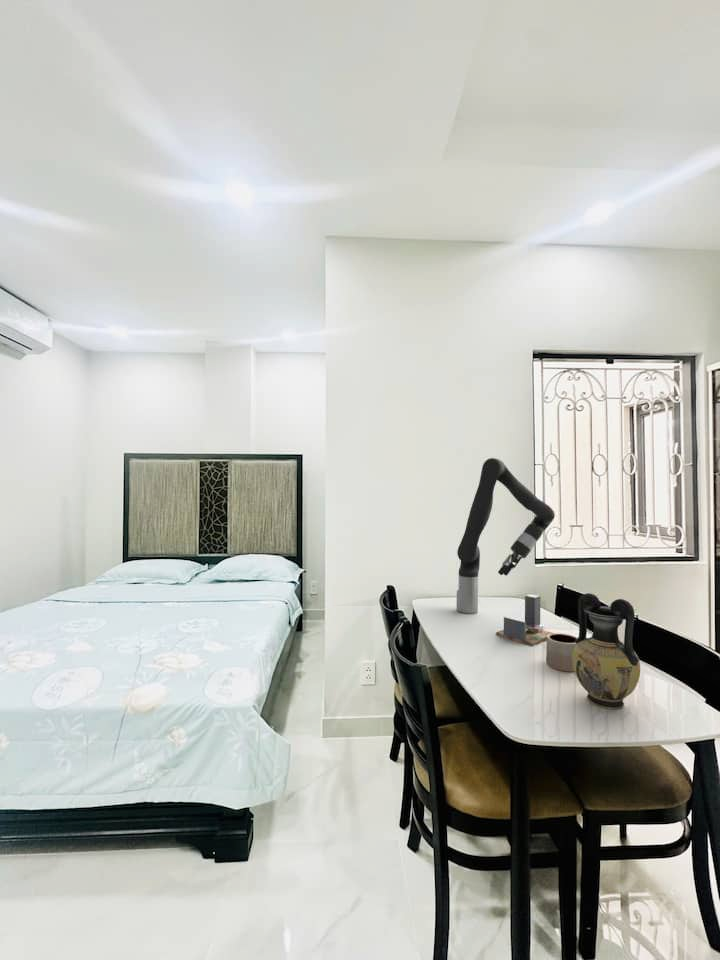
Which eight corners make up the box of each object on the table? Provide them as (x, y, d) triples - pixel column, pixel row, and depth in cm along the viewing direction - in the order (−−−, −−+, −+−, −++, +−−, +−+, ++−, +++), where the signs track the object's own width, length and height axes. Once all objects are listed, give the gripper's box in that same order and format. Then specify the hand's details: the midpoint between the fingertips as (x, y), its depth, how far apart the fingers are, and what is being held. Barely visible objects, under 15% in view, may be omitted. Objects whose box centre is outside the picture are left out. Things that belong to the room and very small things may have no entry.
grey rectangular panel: (503, 634, 186) (503, 616, 186) (505, 633, 186) (505, 616, 187) (524, 640, 179) (524, 622, 179) (525, 639, 180) (525, 621, 180)
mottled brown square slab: (495, 635, 188) (496, 631, 188) (520, 626, 200) (520, 623, 200) (532, 646, 176) (532, 642, 176) (555, 636, 188) (555, 633, 188)
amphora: (561, 700, 131) (562, 594, 132) (583, 683, 143) (584, 586, 144) (630, 724, 119) (631, 607, 119) (648, 703, 131) (649, 596, 131)
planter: (587, 673, 151) (587, 644, 151) (553, 672, 151) (553, 643, 151) (572, 660, 162) (572, 633, 162) (541, 660, 162) (541, 632, 162)
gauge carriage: (515, 631, 188) (515, 597, 189) (529, 626, 195) (529, 593, 196) (531, 636, 183) (532, 600, 183) (545, 631, 190) (546, 596, 190)
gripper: (512, 540, 212) (491, 568, 211) (520, 538, 198) (498, 568, 197) (526, 551, 211) (505, 579, 209) (535, 549, 197) (513, 580, 195)
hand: (501, 574), depth 203 cm, fingers open, 8 cm apart
